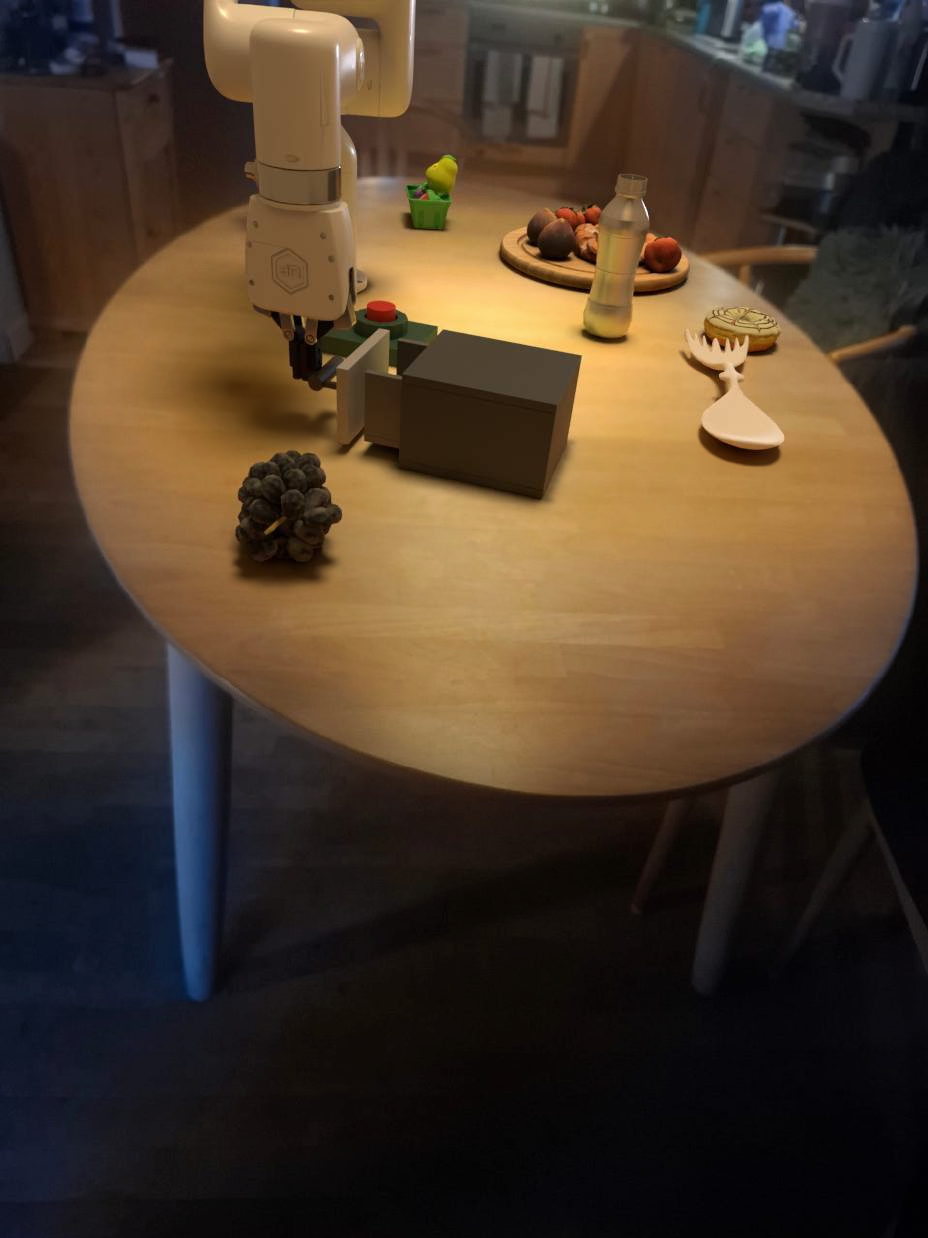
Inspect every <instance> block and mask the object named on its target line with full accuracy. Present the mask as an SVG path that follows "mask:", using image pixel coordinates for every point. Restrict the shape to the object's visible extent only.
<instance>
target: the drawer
mask: <svg viewBox="0 0 928 1238" xmlns="http://www.w3.org/2000/svg"><path fill="white" fill-rule="evenodd" d="M389 336H390V331H389V330H385V329H380V328H379V329H378V330H377V331H376V332H375V333H374V334H373V335H372V336H370V337H369V338H368V339H367V340H366V341H365V342H364V343H363V344H362V345H361V346H360V347H358V348H357V349H356V350H355V351H354V352H353V353H352V354H351V355H350V356H349V357H345V359H344V358H343V356H339V355H334V356H332V357H331V358H330V359H329V360H328V361H327V362H325V364H322V367H321V368H320V369H319V370H318V371H317V372H315V373H314V374H313V375H312V376H311V377H310V378H309V379H308V382H307V385H308V388H309V389H311V390H312V391H314V392H320V391H321V390H323V389H324V388H326V389H329V390H335V391H336V442H337V443H339V444H344V445H349V444H350V443H351V442H352V441H353V439H354V438H356V436H357V435H358V434H359V433H360V432H361V430H362V429H363V442H366V443H372V444H376V445H381V446H386V447H389V448H390V447H391V448H395V449H399V441H400V415H401V389H402V374H403V372H404V371H405V370H406V369H407V368H408V367H409V366H410V365H411V364H412V363H413V362H414V360H415V359H416V358H417V357H418V356H419V355H420V354H421V353H422V352H423V351H424V350H425V348H426V347H427V346H428V345H429V344H430V343H425V342H419V341H414V340H409V339H404V338H399V339H398V340H397V367H395V368H396V372H395V374H393V373H389V367H390V366H389ZM335 378H336V381H333V379H335Z"/></svg>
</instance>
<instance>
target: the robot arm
mask: <svg viewBox="0 0 928 1238" xmlns="http://www.w3.org/2000/svg"><path fill="white" fill-rule="evenodd" d="M289 1H290V2H291V3H292V4H293V5H294V6H296V7H297V8H298V9H296V8H290V7H279V6H270V5H269V6H268V5H257V4H246V3H239V0H203V23H202V24H203V51H204V62H205V66H206V70H207V74H208V77H209V79H210V81H211V84H212V85H213V87H214V88H215V90H216V91H217V92H218V93H219V94H220V95H221V96H223V97H225V98H227V99H229V100H232V101H235V102H243V103H250V104H251V103H252V108H253V109H252V113H253V114H252V115H253V129H254V143H255V144H254V145H255V158H254V161H252V162H251V161H247V162H246V163H245V165H244V175H245V177H246V178H248V179H252V180H253V181H254V182H255V186H256V187H255V188H256V191H257V193H254V194H252V195H250V197H249V201H248V209H247V216H246V217H247V218H246V227H245V247H244V253H245V254H244V265H245V268H244V269H245V270H244V274H245V291H246V296H247V299H248V300H249V302H250V303H251V304H252V309H253V310H254V311H255V312H257V313H259V314H261V315H264V316H266V317H268V318H271V319H272V320H273V321H274V322H275V324H276V325H277V326H278V328H280V330H281V331H282V336H283V338H284V339H285V340H286V341H288V357H289V358H288V360H289V362H288V364H289V367H291V369H292V379H293V380H297V381H299V380H302V381H303V382H307V383H308V379H309V378H310V377H311V376H312V375H313V374H314V373H315V372H317V371H318V370H319V369H320V368H321V367H322V366H323V352H322V337H323V336H325V335H326V334H327V333H328V332H329V331H330V330H343V329H350V328H351V327H352V326H354V325H355V324H356V316H355V312H354V311H355V308H354V306H355V305H356V303H357V298H358V297H357V296H358V293H360V292H362V291H363V290H365V289H366V288H367V286H368V276H367V274H366V273H365V272H364V271H362V270H361V269H358V154H357V150H356V147H355V143H354V142H353V140H352V138H351V136H350V135H349V134H348V131H346V129H345V128H344V125H342V120H341V116H347V115H351V116H362V117H363V116H364V117H375V118H376V117H377V118H395V117H396V118H397V117H399V116H402V115H403V114H404V113H405V112H406V111H407V110H408V108H409V106H410V103H411V99H412V94H413V93H412V92H413V85H414V84H413V83H414V62H415V61H414V60H415V59H414V58H415V32H416V8H417V7H416V6H417V5H416V3H417V0H289ZM344 16H345V17H344ZM346 17H353V18H354V17H355V18H364V19H366V18H368V19H372V20H373V21H374V22H375V23H376V24H377V25H378V27H379V29H371V28H362V27H361V28H360V27H359V28H358V27H355V26H354V24H352V23H351V21H349V19H347V18H346ZM305 318H306V321H305Z"/></svg>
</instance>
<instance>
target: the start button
mask: <svg viewBox="0 0 928 1238" xmlns="http://www.w3.org/2000/svg"><path fill="white" fill-rule="evenodd" d="M366 308H367V319H368V320H370V321H375V322H392V321H395V320H396V310H397V306H396V304H394V303H393V302H391V301H388V300H387V301H386V300H372V301H369V302H367V304H366Z"/></svg>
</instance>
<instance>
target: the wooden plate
mask: <svg viewBox="0 0 928 1238" xmlns="http://www.w3.org/2000/svg"><path fill="white" fill-rule="evenodd" d="M601 213H602V209H601V208H599V206H597V204H593V203H588V204H585V205H583V206H582V207H581V210H579V209H577V208H574V207H573V206H572V207H571V206H570V207H568V206H563V205H562V206H561V207H560V208H559V209H557V210H555V211H551V210H550V209H549V208H548V207H545V208H543V209H541V210H539V211H538V212H536V213H535V214H534V215H533V216H532V217H531V219H530V220H529V221H528V224H527V226H524V227H520V228H516V229H514V230H512V231H510V232H508V233H506V235H504V237H502V239H501V241H500V244H499V251H500V255H501V257H502V258H503V259H504V261H505V262H506V263H508V264H509V265H510V266H511V267H513V268H515V269H517V270H519V271H520V272H522V273H525V274H527V275H530V276H531V277H535V278H537V279H540V280H542V281H547V282H550V283H553V284H557V285H562V286H566V287H572V288H577V289H585V290H591V287H592V282H593V278H594V274H595V267H596V264H597V262H596V258H597V250H598V222H599V217H600V215H601ZM682 251H683V250H682V249H681V247H680V245H679V241H678V240H677V239H674V238H672V237H670V236H665V237H663V236H656V235H655V234H653V233H648V234H647V237H646V240H645V243H644V246H643V249H642V252H641V255H640V259H639V263H638V267H637V269H636V270H637V272H636V276H635V282H634V291H633V293H638V292H641V293H642V292H653V291H659V290H665V289H667V288H671V287H674V286H677V285H678V284H680V283H681V282H683V281H684V280H685V279H686V278H687V277H688V275H689V273H690V269H691V268H690V267H691V265H690V261H689V259H688V258H687V256H686V255H685V254H684V253H683V252H682Z"/></svg>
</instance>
